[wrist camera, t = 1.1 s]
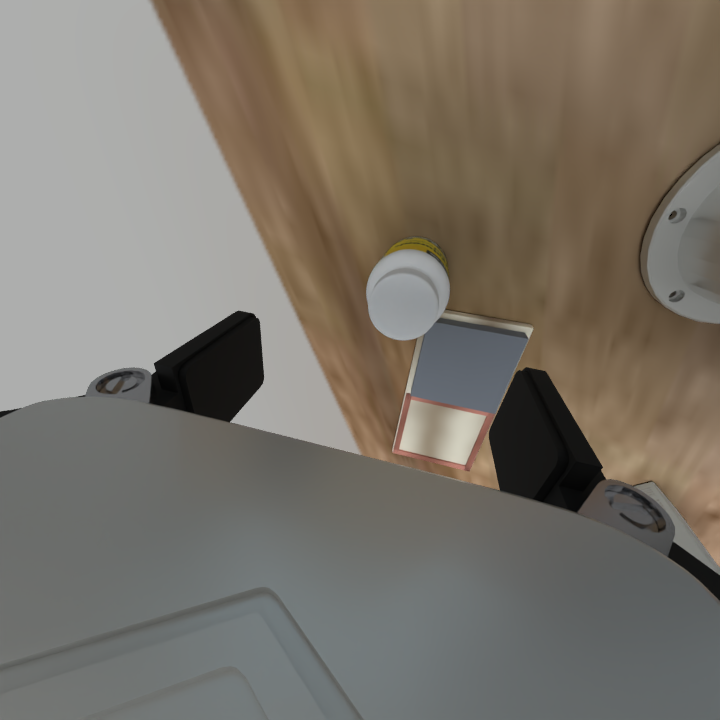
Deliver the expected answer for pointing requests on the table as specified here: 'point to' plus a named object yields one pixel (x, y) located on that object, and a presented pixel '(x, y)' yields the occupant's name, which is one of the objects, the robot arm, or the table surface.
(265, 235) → the table surface
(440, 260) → the supplement bottle
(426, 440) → the stamping board
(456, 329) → the ink pad
